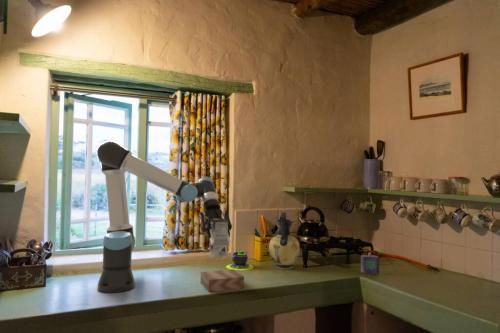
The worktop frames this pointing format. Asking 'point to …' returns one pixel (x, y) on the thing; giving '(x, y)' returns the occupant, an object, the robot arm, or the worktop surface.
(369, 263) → the flask
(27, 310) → the worktop surface
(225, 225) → the coffee box
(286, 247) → the amphora
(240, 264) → the toy cauldron
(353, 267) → the worktop surface
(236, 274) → the walnut base
